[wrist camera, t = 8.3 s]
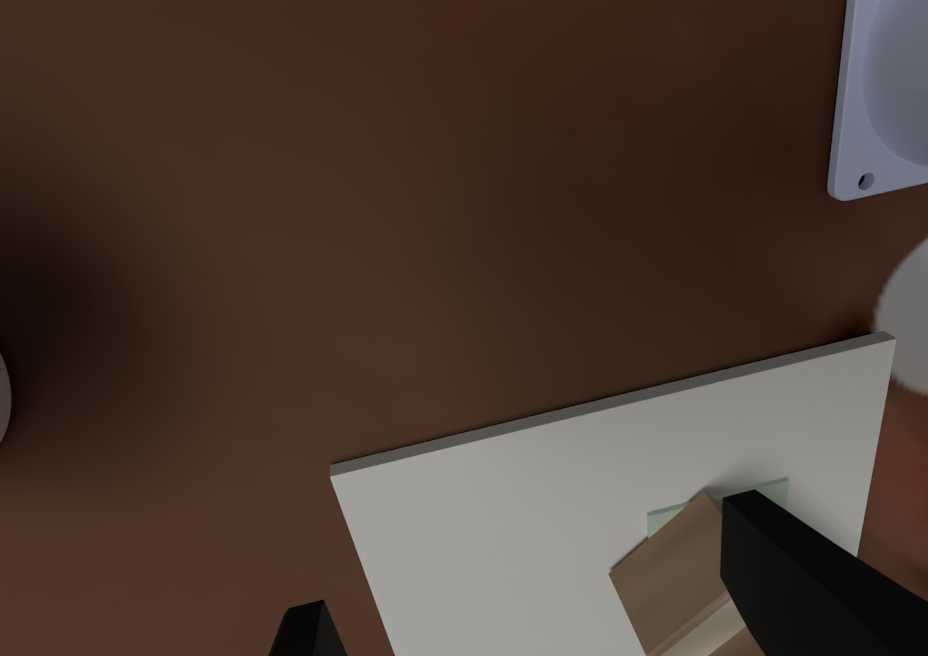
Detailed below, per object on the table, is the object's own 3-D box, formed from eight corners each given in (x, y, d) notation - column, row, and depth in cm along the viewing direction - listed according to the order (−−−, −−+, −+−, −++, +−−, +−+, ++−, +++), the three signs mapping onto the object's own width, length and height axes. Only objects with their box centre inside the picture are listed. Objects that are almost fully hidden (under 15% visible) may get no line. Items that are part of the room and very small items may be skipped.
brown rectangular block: (812, 572, 26) (878, 651, 22) (723, 642, 27) (774, 726, 24) (703, 490, 23) (762, 569, 19) (608, 573, 24) (648, 660, 20)
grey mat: (883, 331, 22) (901, 341, 21) (836, 607, 29) (848, 621, 28) (330, 464, 20) (329, 480, 20) (422, 719, 27) (423, 737, 27)
